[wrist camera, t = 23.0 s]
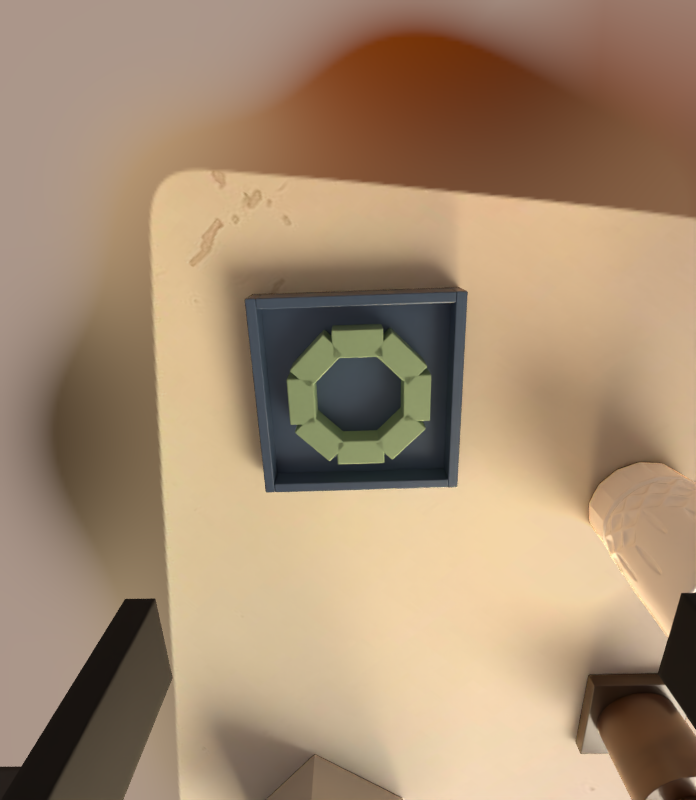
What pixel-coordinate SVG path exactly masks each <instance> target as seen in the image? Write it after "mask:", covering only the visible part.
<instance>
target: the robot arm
mask: <svg viewBox="0 0 696 800" xmlns="http://www.w3.org/2000/svg"><path fill="white" fill-rule="evenodd" d="M658 675H659V677H660V678H661V680H662V681H663V682H664V684H665V685H666V687H667V688H668V690H669V691H670V693H671V694H672V696H673V697H674V698H675V700H676V701H677V703H678V704H679V706H680V707H681V709H682V710H683V712H684V713H685V714H686V716H687V717H688V719H689V720H690V722H691V723H692V725H693V726H694V728H695V729H696V593H681V596H680V599H679V603H678V606H677V610H676V613H675V617H674V620H673V623H672V627H671V630H670V634H669V637H668V641H667V644H666V648H665V651H664V655H663V658H662V661H661V665H660V668H659V672H658ZM171 680H172V673H171V669H170V664H169V660H168V655H167V651H166V646H165V642H164V637H163V632H162V628H161V623H160V619H159V614H158V609H157V604H156V600H155V599H125V600H124V602H123V604H122V605H121V607H120V608H119V610H118V612H117V613H116V615H115V617H114V618H113V620H112V621H111V623H110V624H109V626H108V628H107V629H106V631H105V633H104V634H103V636H102V637H101V639H100V641H99V642H98V644H97V645H96V647H95V649H94V650H93V652H92V654H91V655H90V657H89V658H88V660H87V662H86V663H85V665H84V666H83V668H82V670H81V671H80V673H79V674H78V676H77V678H76V679H75V681H74V683H73V684H72V686H71V687H70V689H69V691H68V692H67V694H66V695H65V697H64V699H63V700H62V702H61V704H60V705H59V707H58V709H57V710H56V712H55V713H54V715H53V716H52V718H51V720H50V721H49V723H48V725H47V726H46V728H45V729H44V731H43V733H42V734H41V736H40V737H39V739H38V741H37V742H36V744H35V746H34V747H33V749H32V750H31V752H30V754H29V755H28V757H27V758H26V760H25V762H24V763H23V765H22V766H21V767H0V800H123V799H124V796H125V794H126V791H127V789H128V787H129V784H130V782H131V779H132V777H133V774H134V772H135V769H136V767H137V764H138V762H139V759H140V757H141V754H142V752H143V749H144V747H145V745H146V742H147V739H148V737H149V734H150V732H151V730H152V727H153V725H154V722H155V719H156V717H157V715H158V712H159V710H160V707H161V705H162V702H163V700H164V697H165V695H166V692H167V690H168V687H169V685H170V683H171Z"/></svg>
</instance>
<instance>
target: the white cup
mask: <svg viewBox="0 0 696 800" xmlns="http://www.w3.org/2000/svg"><path fill="white" fill-rule="evenodd" d="M589 523H590V524H591V526H592V527H593V529H594V530H595V532H596V533H597V535H598V537H599V538H600V539H601V541H602V542H603V543H604V545H605V546H606V548H607V549H608V551H609V554H610V556H611V558H612V559H613V561H614V562H615V563H616V565H617V566H618V568H619V570H620V571H621V573H622V574H623V576H624V577H625V578H626V580H627V581H628V582H629V584H630V585H631V587H632V589H633V590H634V592H635V593H636V595H637V596H638V597H639V599H640V600H641V601H642V603H643V604H644V605H645V607H646V608H647V610H648V611H649V612H650V614H651V615H652V617H653V618H654V619H655V621H656V622H657V623H658V625H659V626H660V628H661V629H662V630H663V632H664V633H665V635H666V636H667V637H669V634H670V630H671V627H672V623H673V620H674V617H675V613H676V610H677V606H678V603H679V599H680V596H681V593H696V483H695V482H693V481H692V480H690V479H689V478H687V477H686V476H684V475H683V474H681V473H679V472H677V471H676V470H674V469H672V468H670V467H668V466H666V465H665V464H663V463H646V462H638V463H635V464H632V465H629V466H627V467H624V468H621V469H618V470H616V471H615V472H613V473H612V474H611V475H610V476H609V477H607V478H606V479H605V480H604V481H603V482H601V483H600V484H599V485H598V487H597V489H596V491H595V493H594V494H593V496H592V498H591V500H590V502H589Z"/></svg>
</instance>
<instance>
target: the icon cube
mask: <svg viewBox="0 0 696 800" xmlns="http://www.w3.org/2000/svg"><path fill="white" fill-rule="evenodd" d="M266 800H403V799H402V798H400V797H398V796H396V795H394V794H392V793H391V792H389V791H387V790H385V789H383V788H381V787H379V786H377V785H375V784H373V783H371V782H369V781H367V780H365V779H363V778H361V777H359V776H357V775H355V774H353V773H351V772H349V771H347V770H345V769H343V768H341V767H339V766H337V765H335V764H333V763H331V762H329V761H327V760H325V759H323V758H321V757H319V756H317V755H314V756H312V757H311V758H310V759H309V760H308V761H307V762H306V763H305V764H304V765H303V766H302V767H301V768H300V769H298V770H297V771H296V772H295V773H294V774H293V775H292V776H291V777H290V778H289V779H288V780H287V781H286V782H285V783H283V784H282V785H281V786H280V787H279V788H278V789H277V790H276V791H275V792H274V793H273V794H272V795H271V796H269V797H268V798H267V799H266Z"/></svg>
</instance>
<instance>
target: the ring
mask: <svg viewBox="0 0 696 800" xmlns="http://www.w3.org/2000/svg"><path fill="white" fill-rule="evenodd" d="M331 334H332V336H331V335H330V334H329V333H328V332H327V331H325V330H323V331H322V332H321V333H320V334H319V335H318V337H317V338H316V339H315V340H314V341H313V342H312V343H311V344H310V345H309V346H308V347H307V348H306V350H305V351H304V352H303V353H302V354H301V355H300V356H299V357H298V358H297V359H296V360H295V362H294V363H293V364H292V367H291V369H290V373H289V376H288V378H287V392H288V404H289V416H290V424H291V425H297V427H296V430H295V433H296V434H297V435H298V436H299V437H301V438H302V439H303V440H304V441H306V442H307V443H308V444H309V445H310V446H312V447H313V448H314V449H315V450H316V451H318V452H319V453H320V454H321V455H322V456H324V457H325V458H326V459H327V460H329V461H331V460H332V459H333V458H334V457H335V456H336V455H337V459H338V464H366V463H384V453H385V454H386V455H387V456H389V457H390V458H391V459H394V458H395V457H396V456H397V455H398V454H399V453H400V452H401V451H402V450H403V449H404V448H406V447H407V446H408V445H409V444H410V443H411V442H412V441H413V440H414V439H415V438H416V437H417V436H419V435H420V434H421V433H422V432H423V431H424V430H425V429H426V428H425V425H424V423H423V421H430V402H431V374H430V372H429V371H428V369H427V364H426V363H425V361H424V359H423V358H422V357H421V356H420V355H419V354H418V353H417V352H416V351H414V350H413V349H412V348H411V347H410V346H409V345H408V344H407V343H406V342H405V341H404V340H403V339H402V338H401V337H400V336H399V335H398V334H397V333H396V332H395V331H394V330H393V329H391V328H389V329H388V330H387V331H386V332H385V333H384V334H383V327H382V325H381V324H362V325H333V326H332V331H331ZM357 357H378V358H379V359H380V360H381V361H382V362H383V363H384V364H385V365H386V366H387V367H389V368H390V369H391V370H392V371H393V372H394V373H395V374H396V375H397V376H398V377H399V378H400V379H401V408H399V409H398V410H397V411H396V412H395V413H394V414H393V415H392V416H391V417H390V418H389V419H388V420H387V421H386V422H385V423H384V424H383V425H382V426H381V427H380V428H379V429H378V430H368V431H342V430H341V429H340V428H339V427H338V426H336V425H335V424H334V423H333V422H332V421H331V420H329V419H328V418H327V417H326V416H325V415H323V414H322V413H321V412H320V411H319V410H318V402H317V386H316V382H317V381H318V380H319V379H320V378H321V376H322V375H323V374H324V373H325V372H326V371H327V370H328V369H329V368H330V367H331V366H332V365H333V364H334V363H335V362H336V361H337V360H338V359H339V358H357Z"/></svg>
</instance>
